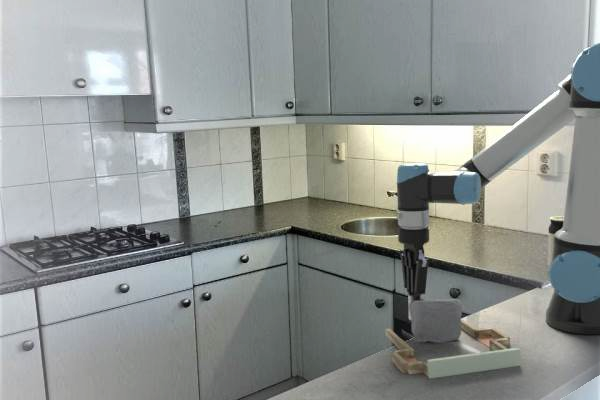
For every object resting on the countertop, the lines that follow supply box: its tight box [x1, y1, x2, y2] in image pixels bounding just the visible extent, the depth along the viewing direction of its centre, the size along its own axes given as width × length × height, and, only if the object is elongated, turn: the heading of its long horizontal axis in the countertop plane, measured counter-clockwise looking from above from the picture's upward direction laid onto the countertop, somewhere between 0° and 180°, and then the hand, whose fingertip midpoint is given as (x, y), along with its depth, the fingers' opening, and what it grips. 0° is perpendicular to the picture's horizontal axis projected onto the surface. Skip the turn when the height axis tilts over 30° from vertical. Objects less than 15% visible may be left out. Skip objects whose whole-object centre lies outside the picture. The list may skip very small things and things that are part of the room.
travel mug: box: [547, 215, 564, 266], centre depth 188 cm, size 8×8×18 cm
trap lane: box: [385, 319, 521, 379], centre depth 129 cm, size 28×24×4 cm
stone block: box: [408, 298, 463, 344], centre depth 134 cm, size 12×5×10 cm, turn 92°
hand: (414, 319), depth 146 cm, fingers closed
